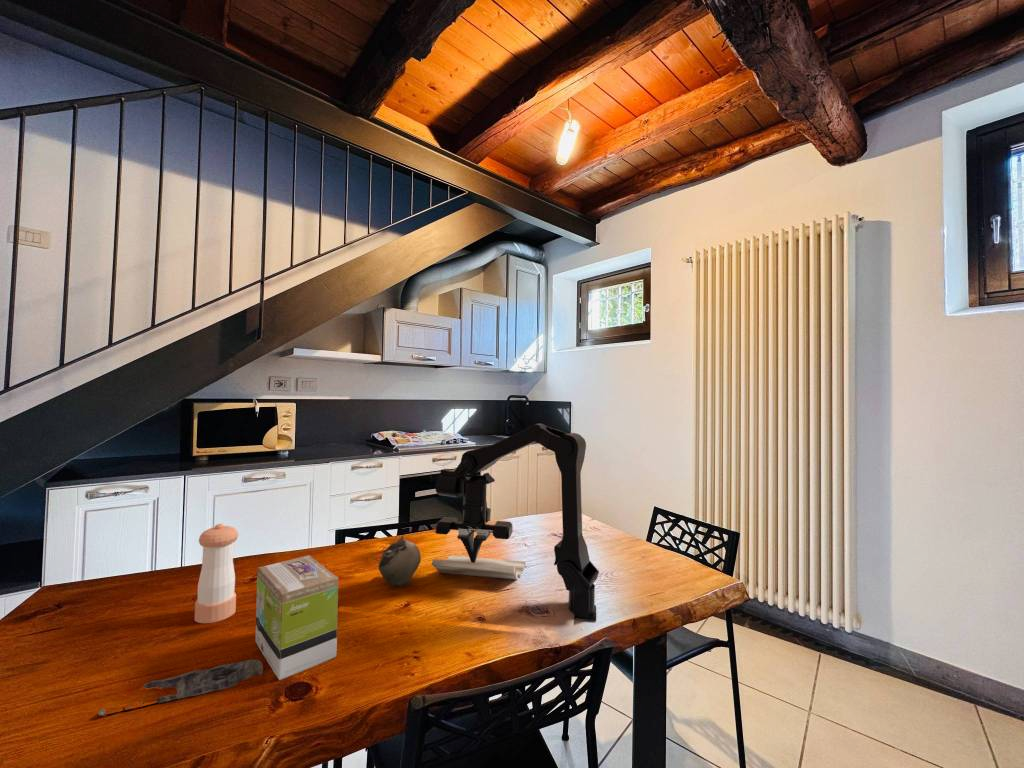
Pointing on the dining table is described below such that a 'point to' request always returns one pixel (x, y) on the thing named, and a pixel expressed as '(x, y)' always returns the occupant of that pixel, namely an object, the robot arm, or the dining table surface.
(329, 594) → the tea box
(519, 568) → the beige flat panel
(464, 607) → the dining table surface
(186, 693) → the driftwood
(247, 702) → the dining table surface
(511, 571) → the board
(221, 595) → the pepper shaker
